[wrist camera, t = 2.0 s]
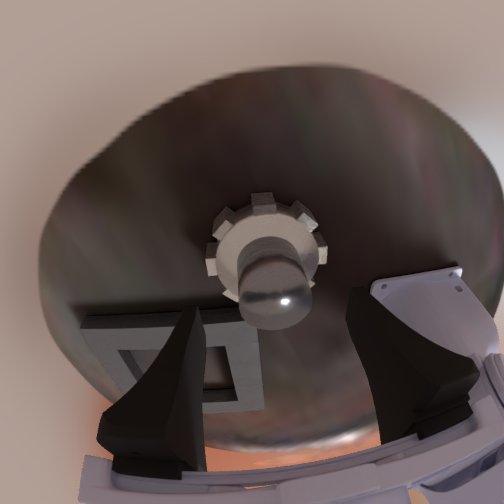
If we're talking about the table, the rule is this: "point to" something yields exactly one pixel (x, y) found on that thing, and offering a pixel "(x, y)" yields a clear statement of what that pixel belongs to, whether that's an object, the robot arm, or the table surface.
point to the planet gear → (267, 260)
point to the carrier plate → (156, 335)
